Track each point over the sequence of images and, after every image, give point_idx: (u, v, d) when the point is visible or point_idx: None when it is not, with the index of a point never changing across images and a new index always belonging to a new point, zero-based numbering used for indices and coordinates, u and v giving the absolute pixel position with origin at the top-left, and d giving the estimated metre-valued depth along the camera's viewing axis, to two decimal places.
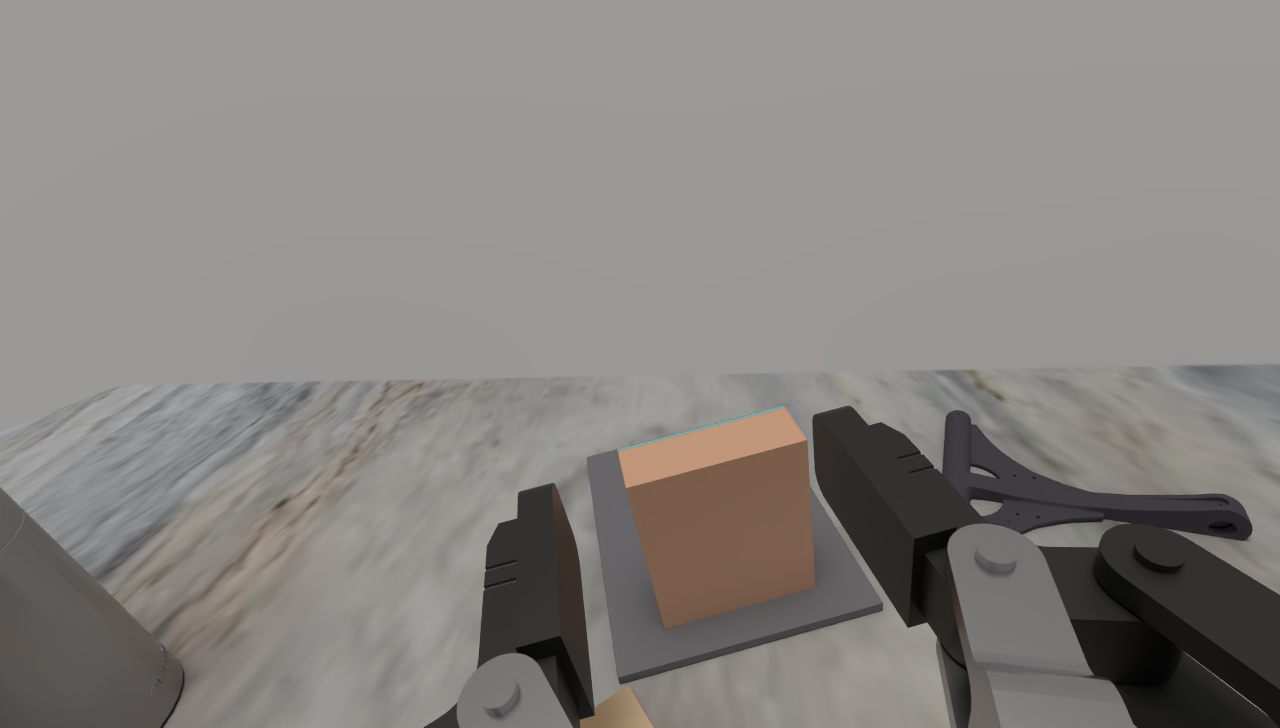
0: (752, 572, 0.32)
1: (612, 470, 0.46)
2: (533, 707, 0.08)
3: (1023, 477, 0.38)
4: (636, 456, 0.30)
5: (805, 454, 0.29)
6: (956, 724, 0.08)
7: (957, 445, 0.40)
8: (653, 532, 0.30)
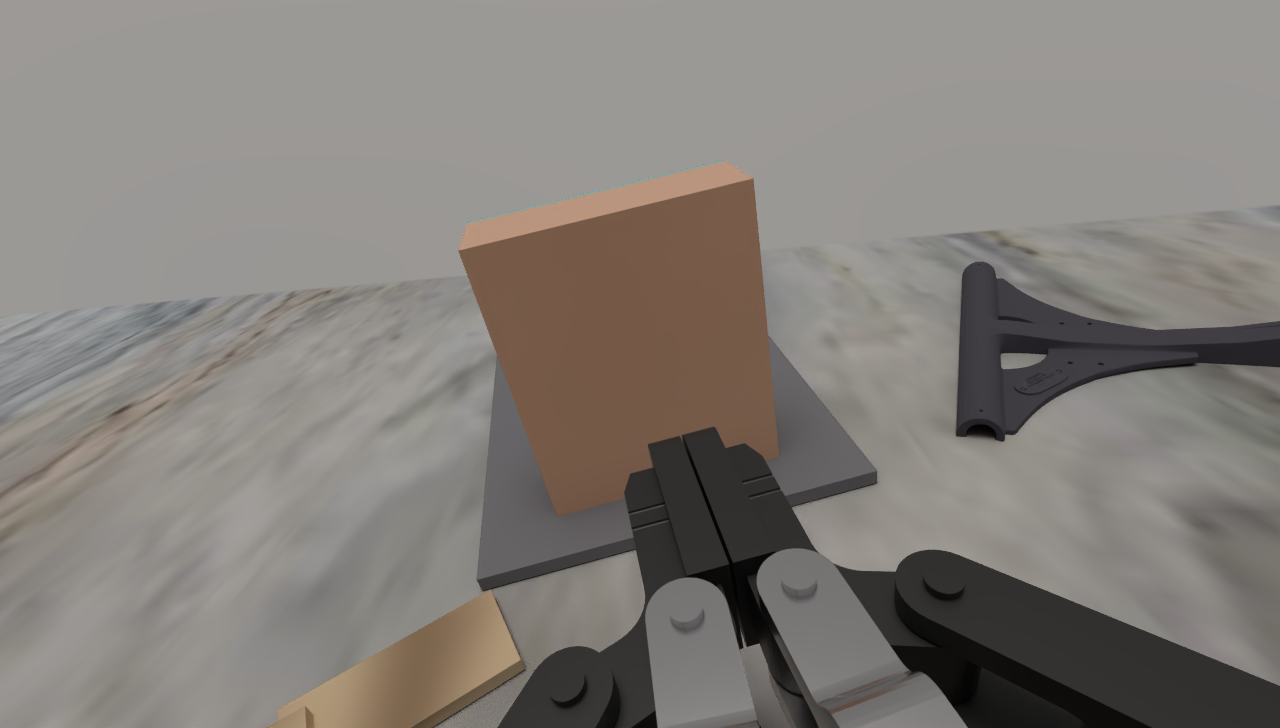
0: (682, 426, 0.22)
1: None
2: (722, 623, 0.08)
3: (1074, 324, 0.27)
4: (491, 223, 0.19)
5: (752, 207, 0.18)
6: None
7: (980, 294, 0.30)
8: (516, 341, 0.19)
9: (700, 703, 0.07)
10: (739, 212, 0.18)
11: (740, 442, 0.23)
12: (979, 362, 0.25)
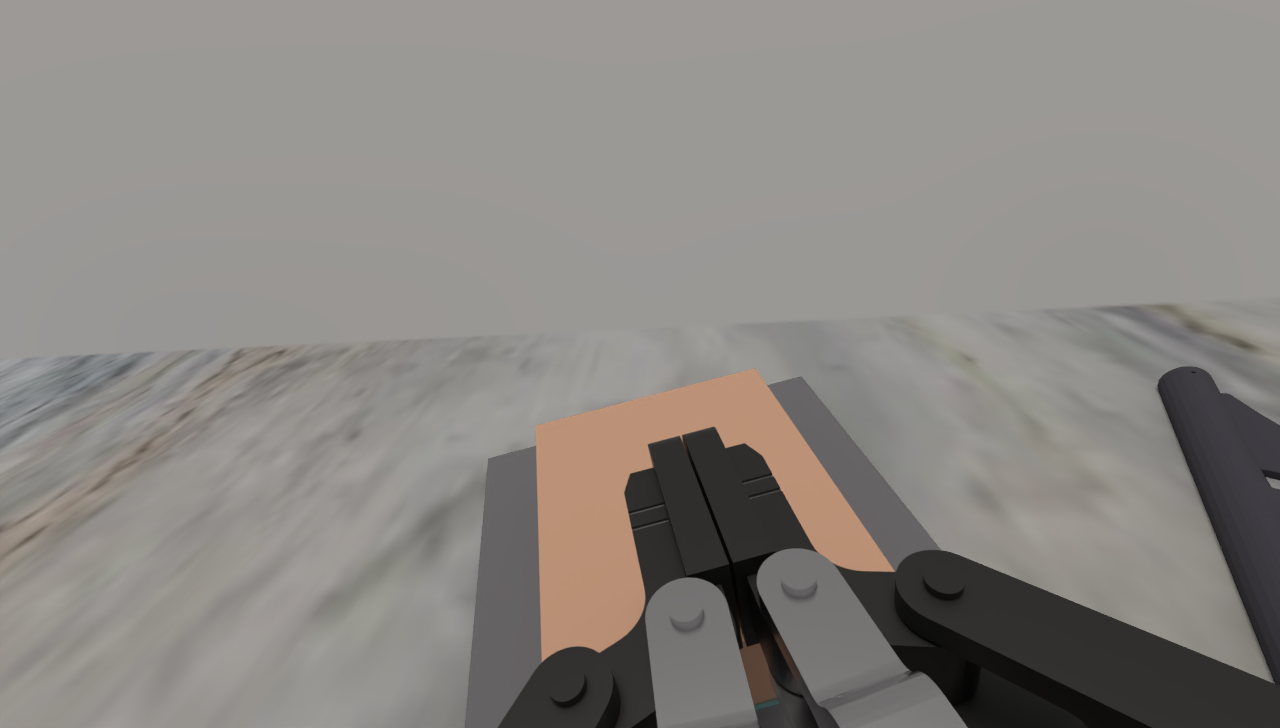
0: None
1: (528, 482, 0.25)
2: (722, 623, 0.08)
3: None
4: None
5: (760, 380, 0.23)
6: None
7: (1224, 433, 0.19)
8: (557, 475, 0.20)
9: (700, 703, 0.07)
10: (750, 383, 0.23)
11: None
12: None
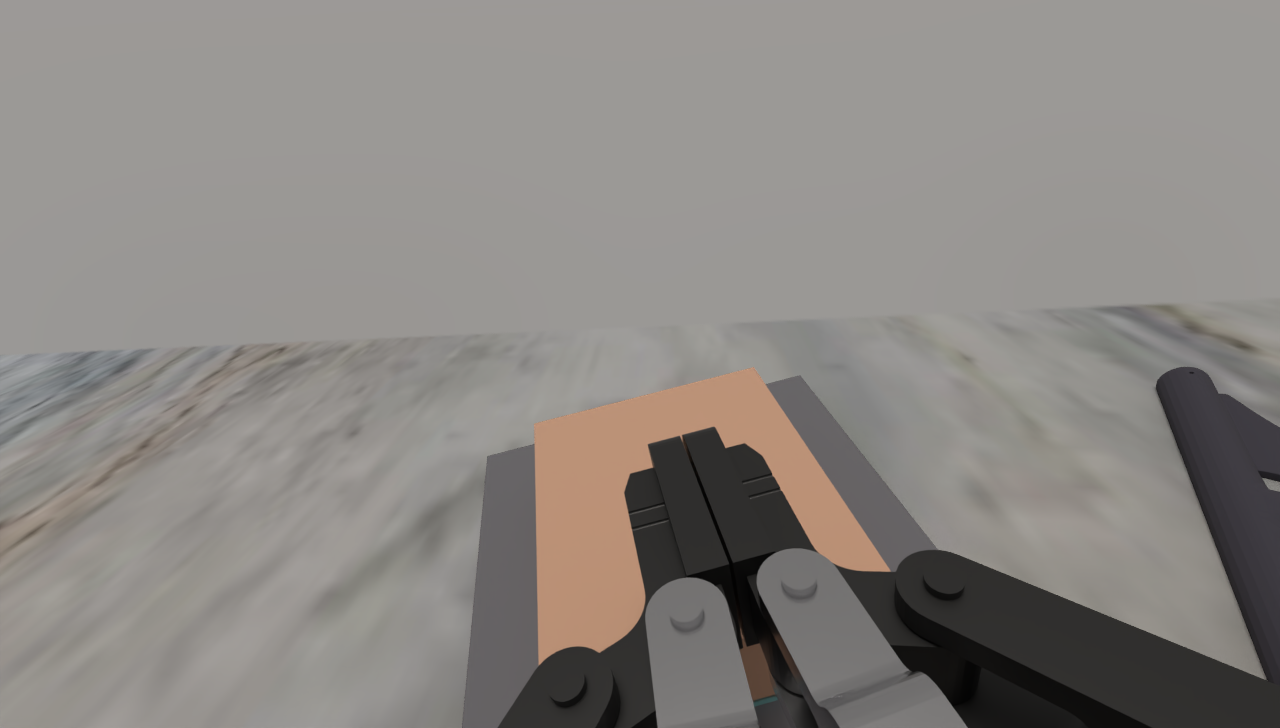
0: None
1: (526, 480, 0.25)
2: (723, 623, 0.08)
3: None
4: None
5: (758, 379, 0.23)
6: None
7: (1222, 434, 0.19)
8: (555, 473, 0.20)
9: (700, 703, 0.07)
10: (748, 382, 0.23)
11: None
12: None
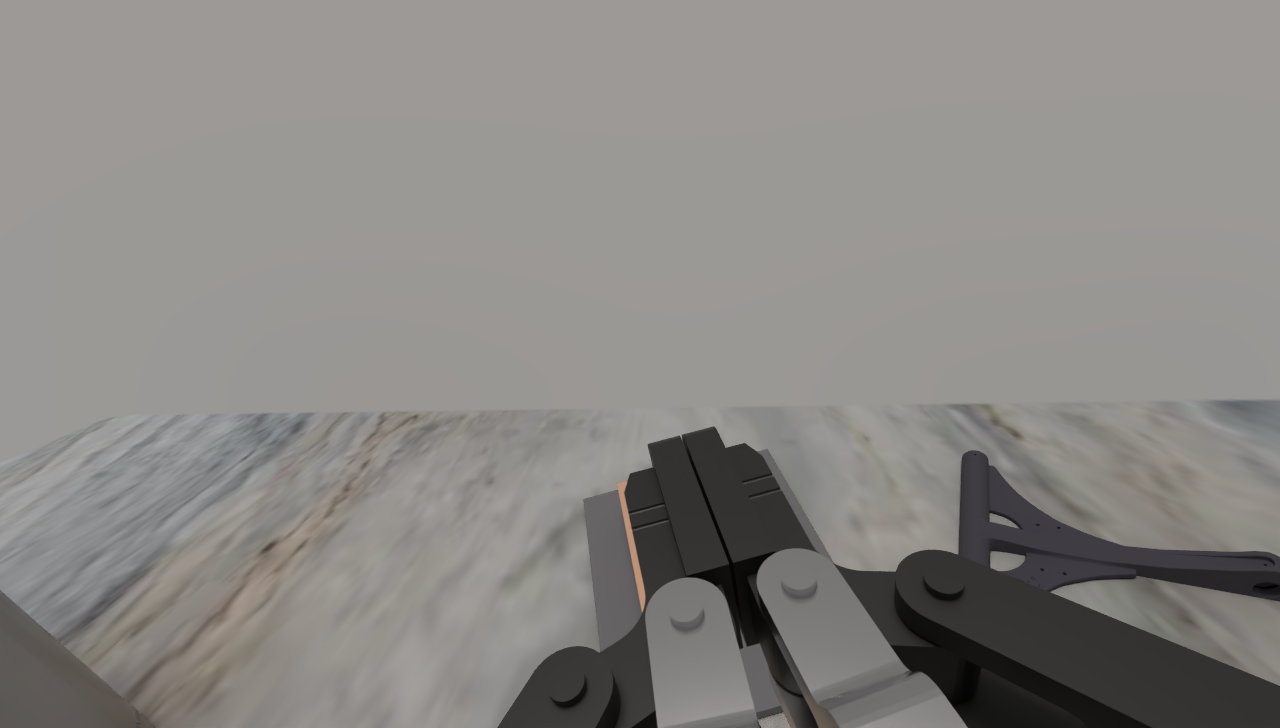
0: None
1: (609, 514, 0.44)
2: (723, 623, 0.08)
3: (1047, 527, 0.36)
4: None
5: None
6: None
7: (975, 491, 0.38)
8: None
9: (700, 703, 0.07)
10: None
11: None
12: None
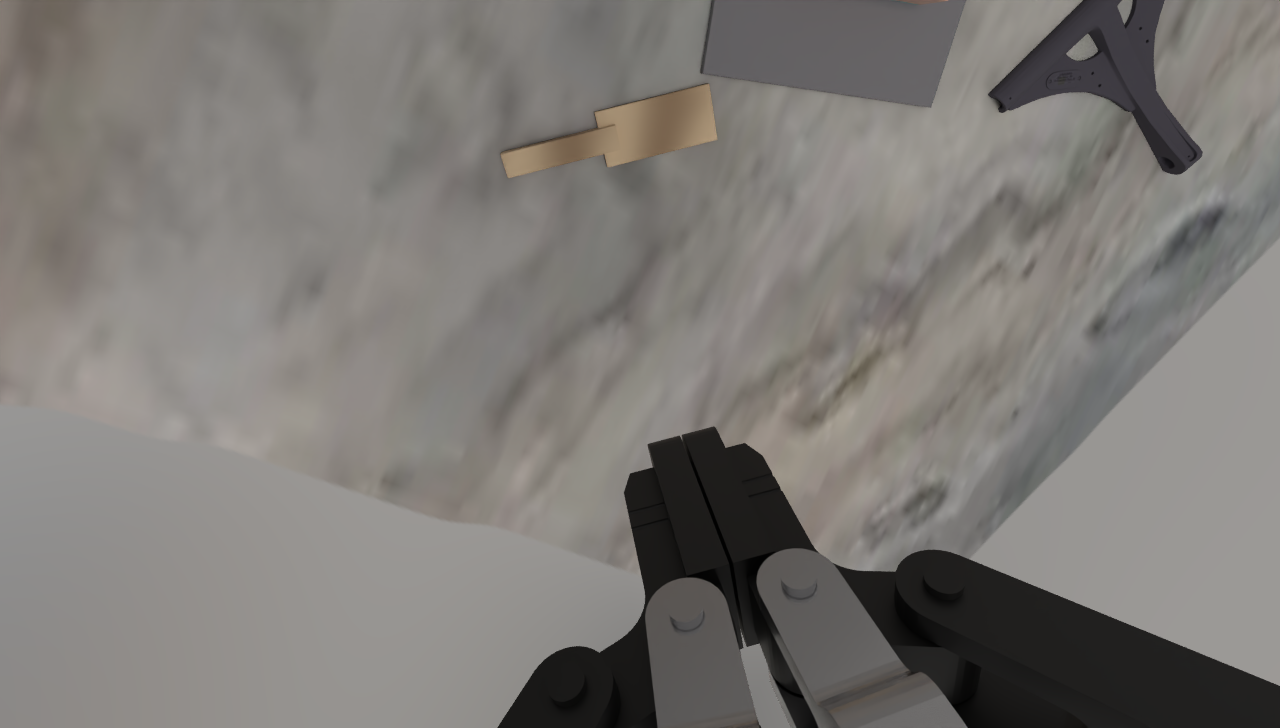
0: None
1: None
2: (722, 623, 0.08)
3: (1142, 35, 0.37)
4: None
5: None
6: None
7: None
8: None
9: (700, 703, 0.07)
10: None
11: None
12: (1057, 51, 0.36)
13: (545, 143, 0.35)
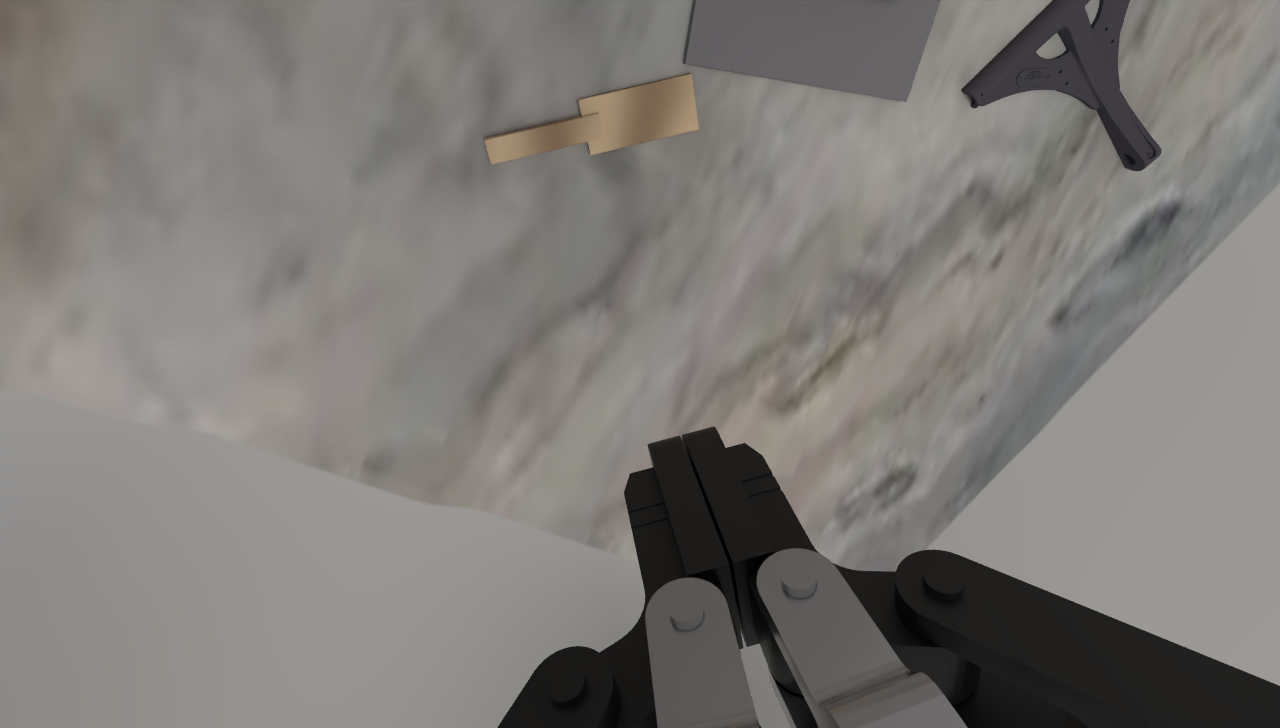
0: None
1: None
2: (722, 623, 0.08)
3: (1107, 36, 0.39)
4: None
5: None
6: None
7: None
8: None
9: (700, 703, 0.07)
10: None
11: None
12: (1027, 50, 0.37)
13: (529, 130, 0.35)
